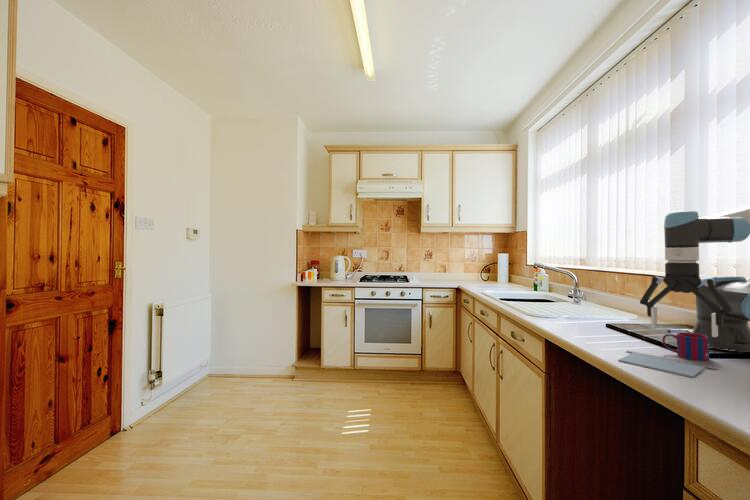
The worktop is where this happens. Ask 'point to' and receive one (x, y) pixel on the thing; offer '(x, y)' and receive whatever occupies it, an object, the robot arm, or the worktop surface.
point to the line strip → (674, 360)
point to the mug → (691, 346)
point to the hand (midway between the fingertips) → (682, 331)
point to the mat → (663, 364)
